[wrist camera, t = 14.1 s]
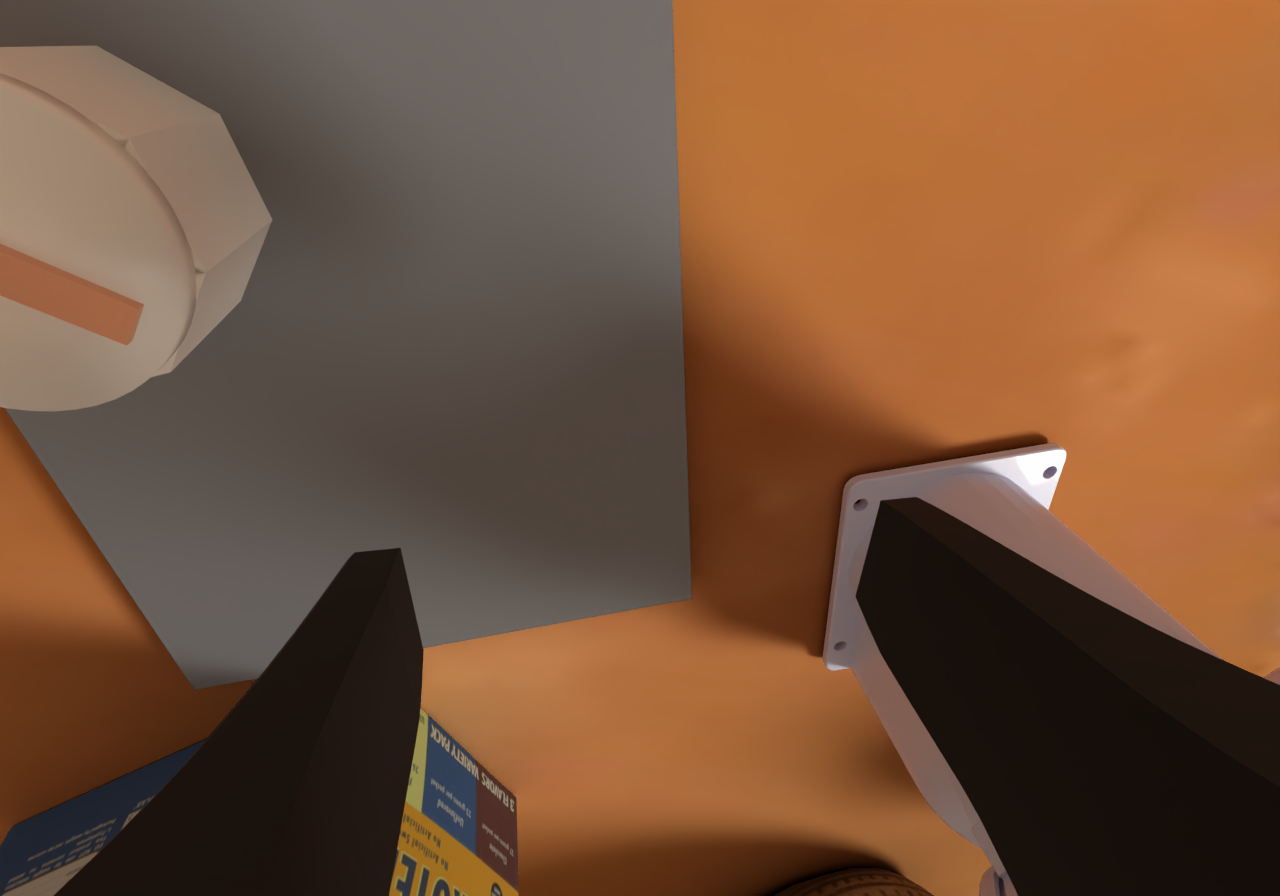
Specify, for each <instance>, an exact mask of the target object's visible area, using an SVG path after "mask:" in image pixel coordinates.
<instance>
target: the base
mask: <svg viewBox="0 0 1280 896" xmlns="http://www.w3.org/2000/svg"><path fill="white" fill-rule="evenodd" d="M31 46H98V47H100V48H102V49H104V50H105V51H107V52H109V53H111V54H113V55H114V56H116V57H118V58H120V59H122V60H123V61H125V62H127V63H129V64H131V65H132V66H134V67H136V68H138V69H140V70H141V71H143V72H145V73H147V74H149V75H150V76H152V77H154V78H156V79H158V80H159V81H161V82H163V83H165V84H167V85H168V86H170V87H172V88H174V89H176V90H177V91H179V92H181V93H183V94H185V95H186V96H188V97H190V98H192V99H194V100H195V101H197V102H199V103H201V104H203V105H204V106H206V107H208V108H210V109H212V110H214V111H215V112H217V113H219V114H220V116H221V118H222V120H223V122H224V124H225V126H226V128H227V130H228V132H229V134H230V136H231V138H232V140H233V142H234V144H235V146H236V148H237V150H238V152H239V154H240V156H241V158H242V160H243V162H244V164H245V166H246V168H247V170H248V172H249V174H250V176H251V178H252V180H253V182H254V184H255V186H256V188H257V190H258V192H259V194H260V196H261V198H262V200H263V202H264V204H265V206H266V208H267V210H268V212H269V214H270V216H271V218H272V222H271V225H270V227H269V230H268V232H267V235H266V237H265V240H264V243H263V245H262V248H261V250H260V253H259V255H258V258H257V261H256V263H255V266H254V268H253V271H252V273H251V276H250V279H249V281H248V284H247V286H246V289H245V291H244V294H243V296H242V299H241V301H240V302H239V303H238V304H237V305H236V306H235V307H234V308H233V309H232V310H231V311H230V312H229V313H228V314H227V316H226V317H225V318H224V319H223V320H222V321H221V322H220V323H219V324H218V325H217V326H216V327H215V328H214V329H213V330H212V331H211V332H210V333H209V334H208V335H207V336H206V337H205V338H204V339H203V340H202V341H201V342H200V343H199V344H198V345H197V346H196V347H195V348H194V349H193V350H192V351H191V352H190V353H189V354H188V355H187V356H186V357H185V358H184V359H183V360H182V361H181V362H180V363H179V364H178V365H177V366H176V367H175V368H174V369H173V370H172V371H171V372H170V373H166V374H162V375H158V376H154V377H150V378H149V379H148V380H147V381H146V382H144V383H143V384H142V385H140V386H139V387H137V388H136V389H134V390H133V391H131V392H129V393H127V394H125V395H123V396H121V397H119V398H117V399H115V400H112V401H109V402H106V403H103V404H100V405H97V406H92V407H87V408H82V409H77V410H66V411H26V410H17V409H9V408H5V410H6V411H7V413H8V414H9V416H10V417H11V419H12V420H13V422H14V423H15V425H16V426H17V428H18V429H19V430H20V432H21V433H22V435H23V436H24V438H25V439H26V441H27V442H28V444H29V445H30V447H31V448H32V450H33V451H34V453H35V454H36V456H37V457H38V459H39V460H40V462H41V463H42V465H43V466H44V468H45V469H46V471H47V472H48V474H49V475H50V476H51V478H52V479H53V481H54V482H55V484H56V485H57V487H58V488H59V490H60V491H61V493H62V494H63V496H64V497H65V499H66V500H67V502H68V503H69V505H70V506H71V508H72V509H73V511H74V512H75V514H76V515H77V517H78V518H79V520H80V521H81V522H82V524H83V525H84V527H85V528H86V530H87V531H88V533H89V534H90V536H91V537H92V539H93V540H94V542H95V543H96V545H97V546H98V548H99V549H100V551H101V552H102V554H103V555H104V557H105V558H106V560H107V561H108V563H109V564H110V566H111V567H112V568H113V570H114V571H115V573H116V574H117V576H118V577H119V579H120V580H121V582H122V583H123V585H124V586H125V588H126V589H127V591H128V592H129V594H130V595H131V597H132V598H133V600H134V601H135V603H136V604H137V606H138V607H139V609H140V610H141V612H142V613H143V615H144V616H145V617H146V619H147V620H148V622H149V623H150V625H151V626H152V628H153V629H154V631H155V632H156V634H157V635H158V637H159V638H160V640H161V641H162V643H163V644H164V646H165V647H166V649H167V650H168V652H169V653H170V655H171V656H172V658H173V659H174V661H175V662H176V663H177V665H178V666H179V668H180V669H181V671H182V672H183V674H184V675H185V677H186V678H187V680H188V681H189V683H190V684H191V686H192V687H193V689H194V690H198V689H204V688H209V687H214V686H220V685H225V684H231V683H236V682H242V681H247V680H252V679H258V678H259V677H260V675H261V674H262V673H263V672H264V670H265V669H266V668H267V666H268V665H269V664H270V663H271V661H272V660H273V659H274V658H275V656H276V655H277V654H278V652H279V651H280V650H281V649H282V647H283V646H284V645H285V644H286V642H287V641H288V640H289V638H290V637H291V636H292V635H293V633H294V632H295V631H296V629H297V628H298V627H299V625H300V624H301V623H302V621H303V620H304V619H305V617H306V616H307V615H308V613H309V612H310V611H311V609H312V608H313V607H314V605H315V604H316V603H317V601H318V600H319V598H320V597H321V596H322V594H323V593H324V592H325V590H326V589H327V587H328V586H329V585H330V583H331V582H332V580H333V579H334V578H335V576H336V575H337V573H338V572H339V571H340V569H341V568H342V567H343V565H344V564H345V562H346V561H347V560H348V559H349V558H350V556H351V555H352V554H353V553H354V552H363V551H373V550H383V549H393V548H401V552H402V556H403V561H404V565H405V570H406V574H407V579H408V583H409V588H410V592H411V597H412V601H413V605H414V610H415V614H416V619H417V623H418V628H419V632H420V637H421V641H422V646H423V648H426V647H432V646H437V645H443V644H448V643H454V642H459V641H465V640H470V639H475V638H481V637H486V636H492V635H497V634H503V633H508V632H513V631H519V630H524V629H530V628H535V627H541V626H546V625H552V624H557V623H562V622H568V621H573V620H579V619H584V618H590V617H595V616H600V615H606V614H611V613H617V612H622V611H628V610H633V609H639V608H644V607H649V606H655V605H660V604H666V603H671V602H677V601H682V600H687V599H692V584H691V553H690V523H689V493H688V463H687V432H686V402H685V372H684V342H683V311H682V281H681V251H680V220H679V190H678V160H677V130H676V99H675V69H674V39H673V9H672V0H0V47H31Z"/></svg>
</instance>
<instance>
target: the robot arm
mask: <svg viewBox="0 0 1280 896" xmlns="http://www.w3.org/2000/svg"><path fill="white" fill-rule="evenodd" d="M1065 459H1066V451H1065V449H1063V448H1062V447H1061V446H1059V445H1058V444H1056V443H1048V444H1042V445H1036V446H1030V447H1024V448H1018V449H1012V450H1006V451H1000V452H994V453H988V454H982V455H976V456H970V457H964V458H958V459H952V460H946V461H940V462H934V463H928V464H922V465H916V466H910V467H904V468H898V469H892V470H886V471H880V472H874V473H868V474H862V475H858V476H855V477H853V478H851V479H850V480H849V481H848V482H847V483H846V484H845V487H844V491H843V499H842V507H841V515H840V523H839V531H838V539H837V547H836V555H835V563H834V571H833V579H832V587H831V595H830V603H829V611H828V619H827V627H826V635H825V643H824V651H823V662H824V664H825V666H826V668H827V669H829V670H833V671H834V670H841V669H846V668H851V669H852V671H853V673H854V675H855V677H856V678H857V680H858V682H859V684H860V685H861V687H862V689H863V691H864V693H865V694H866V696H867V698H868V700H869V702H870V703H871V705H872V707H873V709H874V711H875V712H876V714H877V716H878V718H879V719H880V721H881V723H882V725H883V727H884V728H885V730H886V732H887V734H888V736H889V737H890V739H891V741H892V743H893V745H894V746H895V748H896V750H897V752H898V754H899V755H900V757H901V759H902V761H903V762H904V764H905V766H906V768H907V770H908V771H909V773H910V775H911V777H912V779H913V780H914V782H915V784H916V786H917V788H918V789H919V791H920V793H921V794H922V796H923V797H924V799H925V800H926V802H927V803H928V804H929V806H930V807H931V808H932V809H933V811H934V812H935V813H936V814H937V815H938V816H939V817H940V818H941V819H942V820H943V821H944V822H945V823H946V824H947V825H948V826H950V827H951V828H952V829H953V830H955V831H956V832H957V833H958V834H960V835H961V836H962V837H964V838H965V839H967V840H968V841H970V842H971V843H973V844H974V845H976V846H978V847H979V848H981V849H982V850H983V851H984V853H985V855H986V856H987V858H988V860H989V861H990V863H991V865H992V866H991V867H990V868H989V869H988V870H987V871H986V872H985V873H984V874H983V876H982V879H981V882H980V885H979V896H1280V668H1277V669H1275V670H1274V671H1272V672H1271V673H1270V674H1268V675H1267V676H1265V677H1264V678H1262V677H1260V676H1257V675H1255V674H1253V673H1250V672H1248V671H1246V670H1243V669H1241V668H1239V667H1237V666H1235V665H1233V664H1230V663H1228V662H1226V661H1224V660H1223V659H1221V658H1220V657H1219V656H1218V655H1217V654H1216V653H1214V652H1213V651H1212V650H1211V649H1210V648H1209V647H1207V646H1206V645H1205V644H1204V643H1203V642H1202V641H1200V640H1199V639H1198V638H1197V637H1196V636H1195V635H1193V634H1192V633H1191V632H1190V631H1189V630H1188V629H1186V628H1185V627H1184V626H1183V625H1182V624H1181V623H1179V622H1178V621H1177V620H1176V619H1175V618H1174V617H1172V616H1171V615H1170V614H1169V613H1168V612H1167V611H1165V610H1164V609H1163V608H1162V607H1161V606H1160V605H1158V604H1157V603H1156V602H1155V601H1154V600H1153V599H1151V598H1150V597H1149V596H1148V595H1147V594H1146V593H1144V592H1143V591H1142V590H1141V589H1140V588H1139V587H1137V586H1136V585H1135V584H1134V583H1133V582H1132V581H1130V580H1129V579H1128V578H1127V577H1126V576H1125V575H1123V574H1122V573H1121V572H1120V571H1119V570H1118V569H1116V568H1115V567H1114V566H1113V565H1112V564H1111V563H1109V562H1108V561H1107V560H1106V559H1105V558H1104V557H1102V556H1101V555H1100V554H1099V553H1098V552H1097V551H1095V550H1094V549H1093V548H1092V547H1091V546H1090V545H1088V544H1087V543H1086V542H1085V541H1084V540H1083V539H1081V538H1080V537H1079V536H1078V535H1077V534H1076V533H1074V532H1073V531H1072V530H1071V529H1070V528H1069V527H1067V526H1066V525H1065V524H1064V523H1063V522H1062V521H1060V520H1059V519H1058V518H1057V517H1056V516H1055V515H1053V514H1052V513H1051V512H1050V511H1049V510H1048V509H1049V506H1050V503H1051V500H1052V497H1053V494H1054V491H1055V488H1056V486H1057V483H1058V480H1059V477H1060V474H1061V471H1062V468H1063V465H1064V462H1065ZM859 499H862V500H861V501H860V502H859V503H857V504H854V503H855V502H856V501H857V500H859ZM422 670H423V646H422V641H421V637H420V632H419V628H418V623H417V619H416V614H415V610H414V605H413V601H412V597H411V592H410V588H409V583H408V579H407V574H406V570H405V565H404V561H403V556H402V552H401V548H393V549H383V550H373V551H363V552H354V553H353V554H352V555H351V556H350V558H349V559H348V560H347V561H346V562H345V564H344V565H343V567H342V568H341V569H340V571H339V572H338V573H337V575H336V576H335V578H334V579H333V580H332V582H331V583H330V585H329V586H328V587H327V589H326V590H325V592H324V593H323V594H322V596H321V597H320V598H319V600H318V601H317V603H316V604H315V605H314V607H313V608H312V609H311V611H310V612H309V613H308V615H307V616H306V617H305V619H304V620H303V621H302V623H301V624H300V625H299V627H298V628H297V629H296V631H295V632H294V633H293V635H292V636H291V637H290V638H289V640H288V641H287V642H286V644H285V645H284V646H283V647H282V649H281V650H280V651H279V652H278V654H277V655H276V656H275V658H274V659H273V660H272V661H271V663H270V664H269V665H268V666H267V668H266V669H265V670H264V672H263V673H262V674H261V675H260V677H259V678H258V679H257V680H256V682H255V683H254V684H253V685H252V687H251V688H250V689H249V690H248V691H247V693H246V694H245V695H244V696H243V697H242V698H241V700H240V701H239V702H238V703H237V704H236V705H235V707H234V708H233V709H232V710H231V711H230V712H229V714H228V715H227V716H226V717H225V718H224V719H223V720H222V722H221V723H220V724H219V725H218V726H217V727H216V729H215V730H214V731H213V732H212V733H211V734H210V736H209V737H208V738H207V739H206V740H205V741H204V743H203V744H202V745H201V746H200V747H199V748H198V749H197V751H196V752H195V753H194V754H193V755H192V756H191V757H190V758H189V759H188V761H187V762H186V763H185V764H184V765H183V766H182V767H181V768H180V769H179V770H178V771H177V772H176V774H175V775H174V776H173V777H172V778H171V779H170V780H169V781H168V782H167V783H166V784H165V785H164V786H163V787H162V789H161V790H160V791H159V792H158V793H157V794H156V795H155V796H154V797H153V798H152V799H151V800H150V801H149V802H148V803H147V804H146V805H145V806H144V807H143V808H142V809H141V810H140V811H139V812H138V813H137V814H136V815H135V816H134V817H133V818H132V819H131V821H130V822H129V823H128V824H127V825H126V826H125V827H124V828H123V829H122V830H121V831H120V832H119V833H118V834H117V835H116V836H115V837H114V838H113V839H112V840H111V841H110V842H109V843H108V844H107V845H106V846H105V847H104V848H103V849H102V850H101V851H100V852H99V853H97V854H96V855H95V856H94V857H93V858H92V859H91V860H90V861H89V862H88V863H87V864H86V865H85V866H84V867H83V868H82V869H81V870H80V871H79V872H78V873H76V874H75V875H74V876H73V877H72V878H71V879H70V880H69V881H68V882H67V883H66V884H65V885H64V886H63V887H62V888H61V889H60V890H59V891H58V892H57V893H56V894H54V895H53V896H389V893H390V887H391V881H392V875H393V869H394V864H395V858H396V852H397V847H398V841H399V835H400V830H401V824H402V818H403V813H404V807H405V801H406V796H407V790H408V784H409V779H410V773H411V767H412V761H413V755H414V749H415V744H416V738H417V732H418V725H419V719H420V705H421V689H422Z"/></svg>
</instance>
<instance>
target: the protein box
mask: <svg viewBox="0 0 1280 896" xmlns="http://www.w3.org/2000/svg"><path fill="white" fill-rule="evenodd" d="M204 741H205V740H203V741H201V742H199V743H196V744H194V745H192V746H190V747H187V748H185V749H183V750H181V751H179V752H176V753H174V754H172V755H169V756H167V757H165V758H163V759H161V760H158V761H156V762H154V763H152V764H150V765H147V766H145V767H143V768H141V769H138V770H136V771H134V772H132V773H130V774H127V775H125V776H123V777H121V778H119V779H116V780H114V781H112V782H110V783H107V784H105V785H103V786H101V787H99V788H96V789H94V790H92V791H90V792H87V793H85V794H83V795H81V796H79V797H76V798H74V799H72V800H69V801H67V802H65V803H63V804H61V805H59V806H56V807H54V808H52V809H50V810H47V811H45V812H43V813H41V814H39V815H37V816H34V817H32V818H30V819H28V820H25V821H23V822H21V823H19V824H17V825H15V826H14V827H12V828H11V829H10V831H9V832H8V834H7V836H6V838H5V839H4V841H3V843H2V844H1V846H0V896H53V895H54V894H56V893H57V892H58V891H59V890H60V889H61V888H62V887H63V886H64V885H65V884H66V883H67V882H68V881H69V880H70V879H71V878H72V877H73V876H74V875H75V874H76V873H78V872H79V871H80V870H81V869H82V868H83V867H84V866H85V865H86V864H87V863H88V862H89V861H90V860H91V859H92V858H93V857H94V856H95V855H96V854H97V853H99V852H100V851H101V850H102V849H103V848H104V847H105V846H106V845H107V844H108V843H109V842H110V841H111V840H112V839H113V838H114V837H115V836H116V835H117V834H118V833H119V832H120V831H121V830H122V829H123V828H124V827H125V826H126V825H127V824H128V823H129V822H130V821H131V819H132V818H133V817H134V816H135V815H136V814H137V813H138V812H139V811H140V810H141V809H142V808H143V807H144V806H145V805H146V804H147V803H148V802H149V801H150V800H151V799H152V798H153V797H154V796H155V795H156V794H157V793H158V792H159V791H160V790H161V789H162V787H163V786H164V785H165V784H166V783H167V782H168V781H169V780H170V779H171V778H172V777H173V776H174V775H175V774H176V772H177V771H178V770H179V769H180V768H181V767H182V766H183V765H184V764H185V763H186V762H187V761H188V759H189V758H190V757H191V756H192V755H193V754H194V753H195V752H196V751H197V749H198V748H199V747H200V746H201V745H202V744H203V743H204ZM389 896H518V848H517V810H516V797H515V796H514V795H513V794H512V793H511V792H510V791H508V790H507V789H506V788H505V787H504V786H503V785H502V784H501V783H499V782H498V781H497V780H496V779H495V778H494V777H493V776H492V775H491V774H490V773H489V772H488V771H487V770H486V769H485V768H484V767H483V766H482V765H480V764H479V763H478V762H477V761H476V760H475V759H474V758H473V757H472V756H471V755H470V754H469V753H468V752H467V751H466V750H465V749H464V748H463V747H462V746H461V745H460V744H458V743H457V742H456V741H455V740H454V739H453V738H452V737H451V736H450V735H449V734H448V733H447V732H446V731H445V730H444V729H442V728H441V727H440V726H439V725H438V724H437V723H436V722H435V721H434V720H433V719H432V718H431V717H430V716H429V715H428V714H426V713H425V712H424V711H423V710H422V709H421V708H420V719H419V725H418V732H417V738H416V744H415V749H414V755H413V761H412V767H411V773H410V779H409V784H408V790H407V796H406V801H405V807H404V813H403V818H402V824H401V830H400V835H399V841H398V847H397V852H396V858H395V864H394V869H393V875H392V881H391V887H390V893H389Z"/></svg>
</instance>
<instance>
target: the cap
mask: <svg viewBox="0 0 1280 896" xmlns="http://www.w3.org/2000/svg"><path fill="white" fill-rule="evenodd" d="M271 222H272V218H271V216H270V214H269V212H268V210H267V208H266V206H265V204H264V202H263V200H262V198H261V196H260V194H259V192H258V190H257V188H256V186H255V184H254V182H253V180H252V178H251V176H250V174H249V172H248V170H247V168H246V166H245V164H244V162H243V160H242V158H241V156H240V154H239V152H238V150H237V148H236V146H235V144H234V142H233V140H232V138H231V136H230V134H229V132H228V130H227V128H226V126H225V124H224V122H223V120H222V118H221V116H220V114H219V113H217V112H215V111H214V110H212V109H210V108H208V107H206V106H204V105H203V104H201V103H199V102H197V101H195V100H194V99H192V98H190V97H188V96H186V95H185V94H183V93H181V92H179V91H177V90H176V89H174V88H172V87H170V86H168V85H167V84H165V83H163V82H161V81H159V80H158V79H156V78H154V77H152V76H150V75H149V74H147V73H145V72H143V71H141V70H140V69H138V68H136V67H134V66H132V65H131V64H129V63H127V62H125V61H123V60H122V59H120V58H118V57H116V56H114V55H113V54H111V53H109V52H107V51H105V50H104V49H102V48H100V47H98V46H31V47H0V407H2V408H9V409H17V410H26V411H66V410H77V409H82V408H87V407H92V406H97V405H100V404H103V403H106V402H109V401H112V400H115V399H117V398H119V397H121V396H123V395H125V394H127V393H129V392H131V391H133V390H134V389H136V388H137V387H139V386H140V385H142V384H143V383H144V382H146V381H147V380H148V379H149V378H150V377H154V376H158V375H162V374H166V373H170V372H171V371H172V370H173V369H174V368H175V367H176V366H177V365H178V364H179V363H180V362H181V361H182V360H183V359H184V358H185V357H186V356H187V355H188V354H189V353H190V352H191V351H192V350H193V349H194V348H195V347H196V346H197V345H198V344H199V343H200V342H201V341H202V340H203V339H204V338H205V337H206V336H207V335H208V334H209V333H210V332H211V331H212V330H213V329H214V328H215V327H216V326H217V325H218V324H219V323H220V322H221V321H222V320H223V319H224V318H225V317H226V316H227V314H228V313H229V312H230V311H231V310H232V309H233V308H234V307H235V306H236V305H237V304H238V303H239V302H240V301H241V299H242V296H243V294H244V291H245V289H246V286H247V284H248V281H249V279H250V276H251V273H252V271H253V268H254V266H255V263H256V261H257V258H258V255H259V253H260V250H261V248H262V245H263V243H264V240H265V237H266V235H267V232H268V230H269V227H270V225H271Z"/></svg>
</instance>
